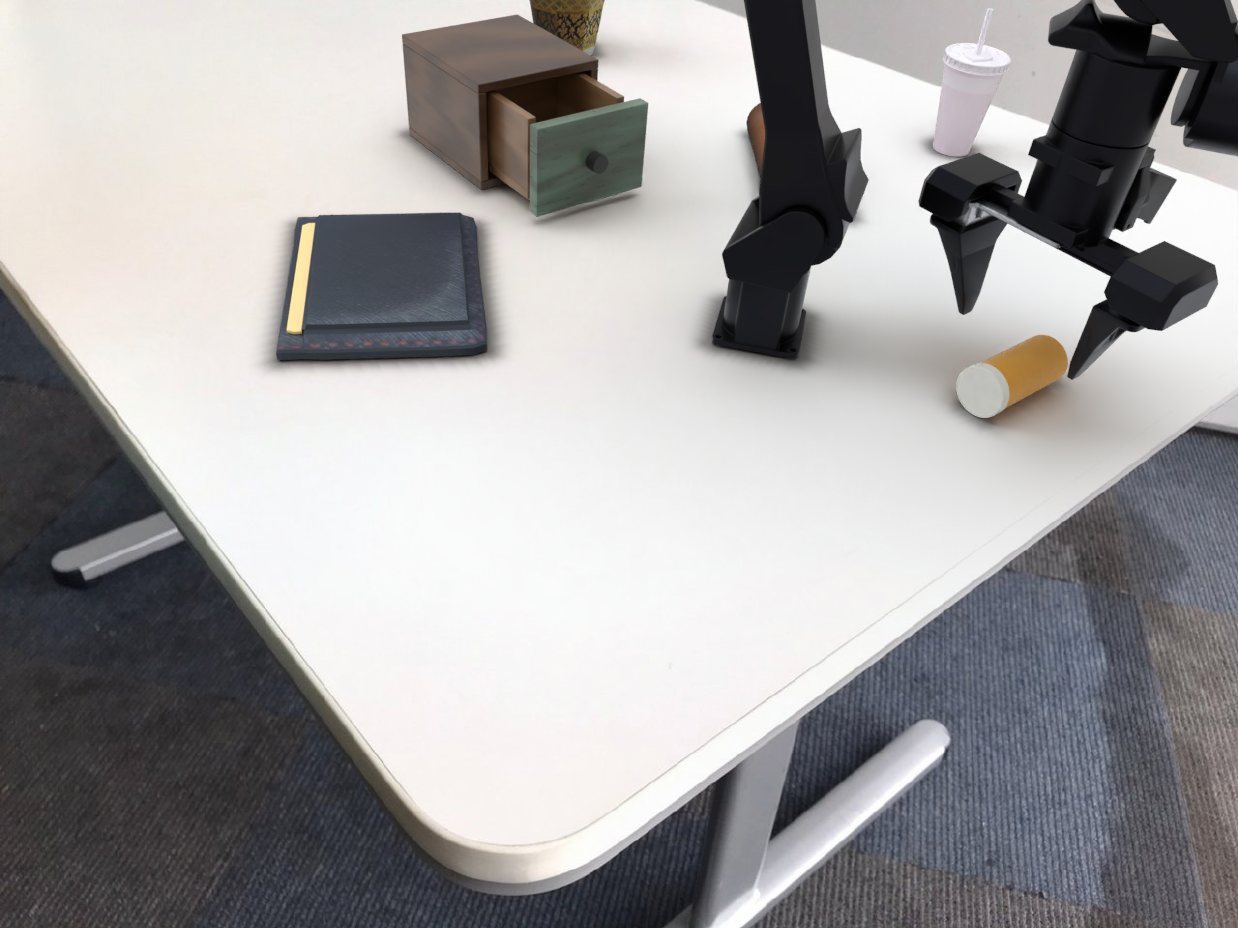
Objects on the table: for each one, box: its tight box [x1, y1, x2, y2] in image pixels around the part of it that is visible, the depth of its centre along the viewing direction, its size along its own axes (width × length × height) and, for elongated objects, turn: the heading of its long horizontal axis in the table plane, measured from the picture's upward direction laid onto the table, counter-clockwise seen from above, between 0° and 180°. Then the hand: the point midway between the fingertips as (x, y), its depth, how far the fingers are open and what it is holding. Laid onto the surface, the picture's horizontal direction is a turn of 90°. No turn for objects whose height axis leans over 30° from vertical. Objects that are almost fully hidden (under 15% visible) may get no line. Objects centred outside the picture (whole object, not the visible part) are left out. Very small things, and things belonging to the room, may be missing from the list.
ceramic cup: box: [529, 0, 606, 56], centre depth 117 cm, size 13×10×10 cm
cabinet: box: [401, 14, 599, 191], centre depth 96 cm, size 14×13×10 cm
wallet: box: [275, 212, 488, 361], centre depth 79 cm, size 20×2×15 cm
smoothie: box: [932, 7, 1012, 158], centre depth 101 cm, size 6×6×14 cm
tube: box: [955, 334, 1069, 419], centre depth 72 cm, size 8×4×4 cm, turn 127°
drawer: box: [486, 72, 649, 218], centre depth 90 cm, size 14×11×8 cm
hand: (1017, 343), depth 71 cm, fingers open, 9 cm apart
